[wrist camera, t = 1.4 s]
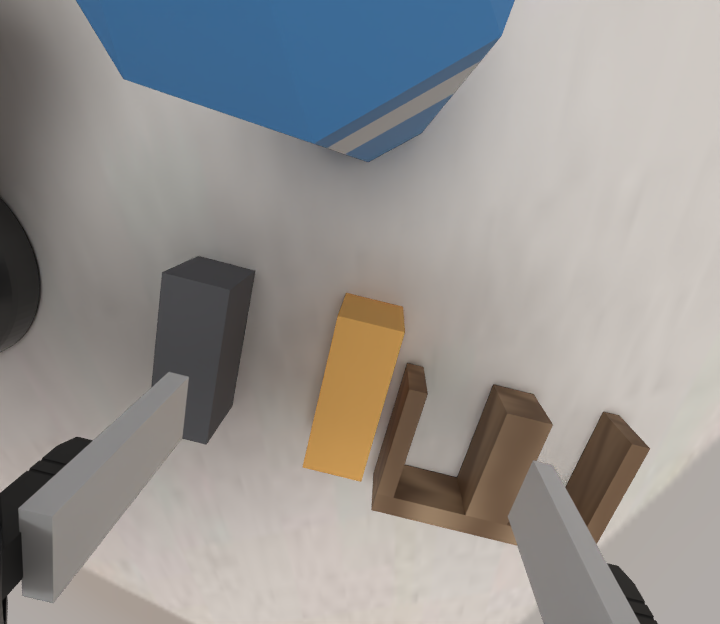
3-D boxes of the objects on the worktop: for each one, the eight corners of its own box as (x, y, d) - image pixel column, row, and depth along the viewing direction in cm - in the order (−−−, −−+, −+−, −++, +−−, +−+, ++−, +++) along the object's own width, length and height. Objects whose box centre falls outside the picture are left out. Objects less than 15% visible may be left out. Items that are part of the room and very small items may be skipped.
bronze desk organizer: (373, 473, 33) (371, 509, 30) (407, 363, 30) (409, 389, 27) (565, 520, 34) (586, 562, 30) (619, 415, 30) (650, 448, 27)
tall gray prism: (182, 391, 33) (147, 429, 28) (199, 255, 29) (162, 272, 24) (233, 404, 33) (206, 444, 28) (255, 270, 29) (229, 289, 24)
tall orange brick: (315, 424, 33) (302, 467, 28) (346, 292, 29) (337, 315, 24) (365, 436, 33) (361, 481, 28) (402, 306, 29) (404, 332, 24)
